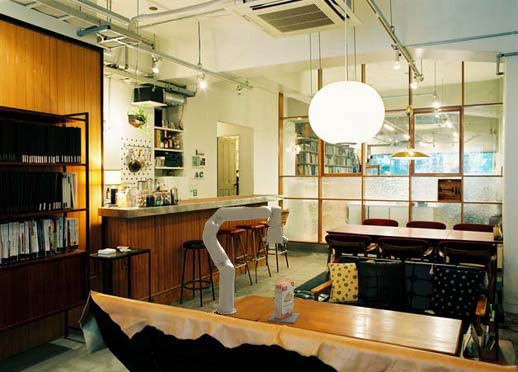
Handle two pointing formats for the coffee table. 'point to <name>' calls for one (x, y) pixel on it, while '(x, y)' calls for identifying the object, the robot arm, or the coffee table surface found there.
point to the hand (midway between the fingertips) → (275, 251)
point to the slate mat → (288, 319)
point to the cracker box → (283, 299)
